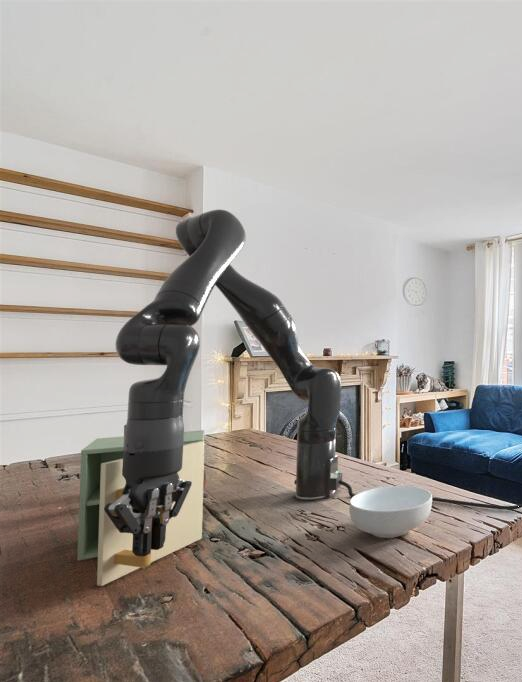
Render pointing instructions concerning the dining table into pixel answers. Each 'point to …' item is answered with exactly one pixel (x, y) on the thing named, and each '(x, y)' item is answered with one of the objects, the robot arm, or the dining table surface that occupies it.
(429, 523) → the dining table surface
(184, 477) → the cupboard door
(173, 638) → the dining table surface
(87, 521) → the cupboard
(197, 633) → the dining table surface
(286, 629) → the dining table surface
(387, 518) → the cereal bowl
